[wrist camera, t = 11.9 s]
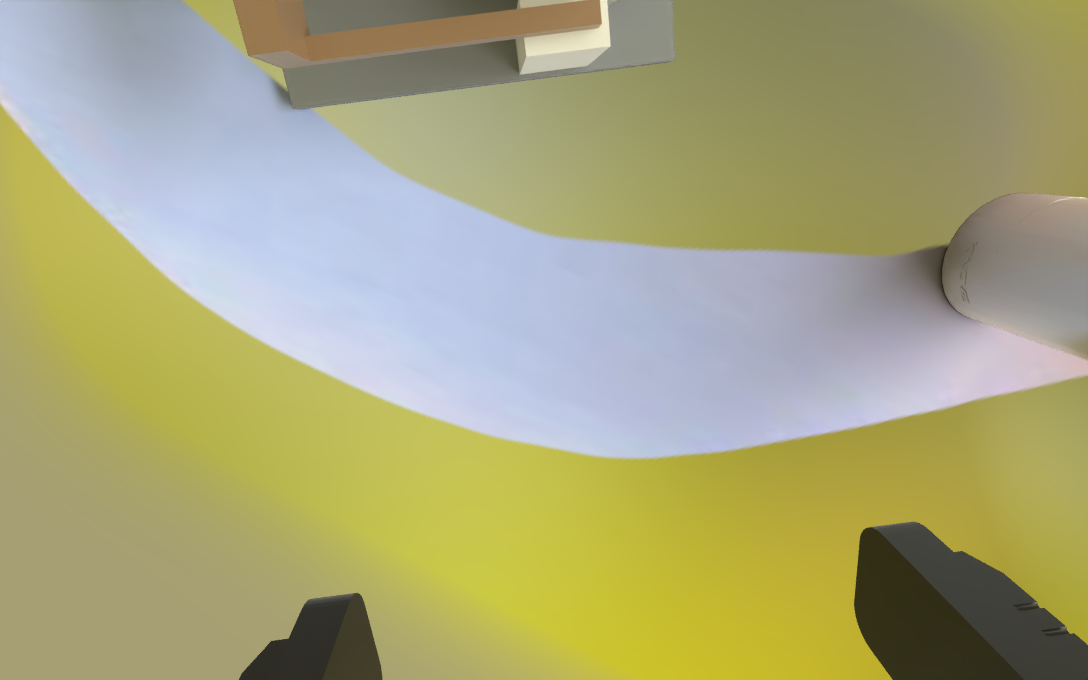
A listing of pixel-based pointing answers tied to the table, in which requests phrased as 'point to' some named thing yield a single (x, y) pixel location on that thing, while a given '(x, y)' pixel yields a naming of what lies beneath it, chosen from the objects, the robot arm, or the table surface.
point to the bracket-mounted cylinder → (474, 49)
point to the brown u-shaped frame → (395, 31)
